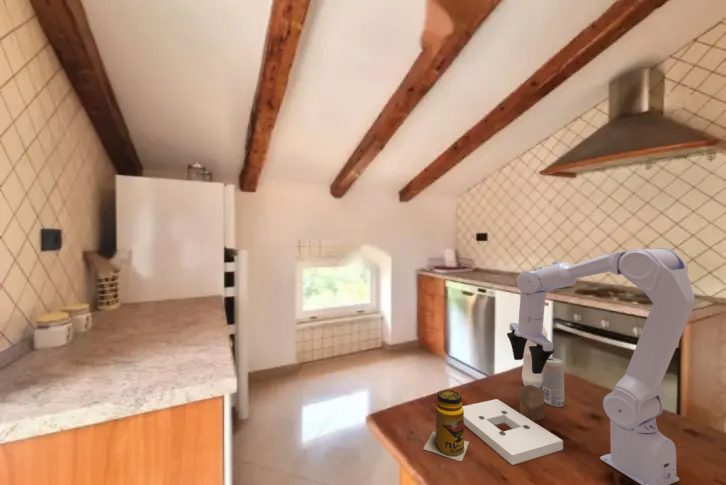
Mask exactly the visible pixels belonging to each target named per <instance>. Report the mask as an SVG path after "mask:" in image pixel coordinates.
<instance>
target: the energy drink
mask: <svg viewBox="0 0 726 485" xmlns="http://www.w3.org/2000/svg"><path fill="white" fill-rule="evenodd" d="M542 390H543V391H544V404H546V406H547V405H548V406H551V407H554V408H555V407H556V408H561V407H563V406H564V405H565V364H564V360H563V359H560V358H558V357H553V356H552V357H551V356H550V357H549V358H548V360H547V361H546V363H545V365H544V368H543V370H542Z"/></svg>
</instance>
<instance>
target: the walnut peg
mask: <svg viewBox="0 0 726 485" xmlns="http://www.w3.org/2000/svg"><path fill="white" fill-rule="evenodd" d="M518 390H519V413H520V414H522V415H523V416H525V417H526V418H528V419H530V420H531V421H533V422H534V421H539V420H541V419H544V418H545V403H544V391H543V390H541V389H540V388H537V387H535V386H533V385H526V386H525V385H522V386H519V389H518Z"/></svg>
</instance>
